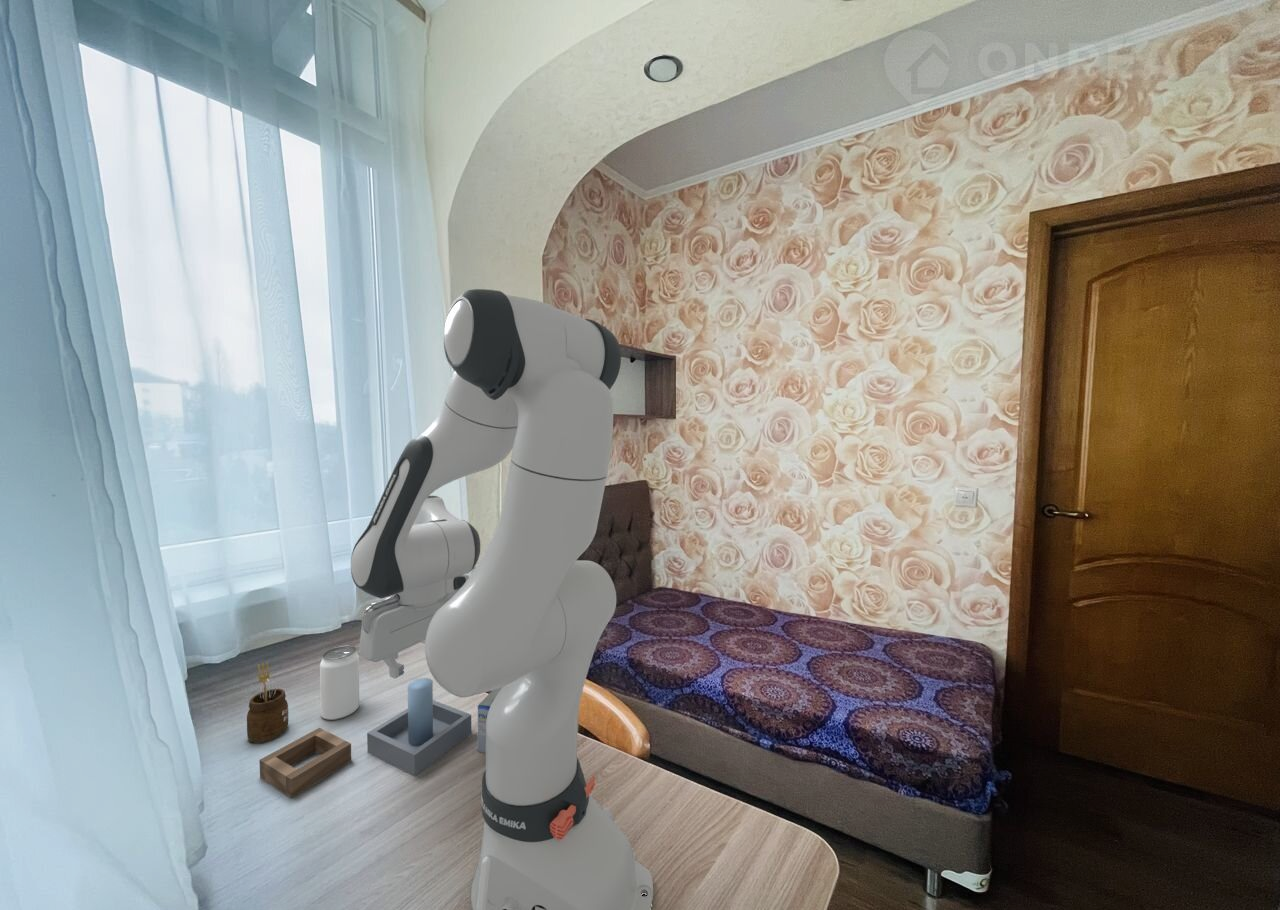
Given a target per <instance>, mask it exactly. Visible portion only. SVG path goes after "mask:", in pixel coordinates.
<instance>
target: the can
mask: <svg viewBox="0 0 1280 910" xmlns="http://www.w3.org/2000/svg"><path fill="white" fill-rule="evenodd" d="M359 655H360V654H359V653H358V651H357V647H356V646H354V645H340V646H337V647H333V648H330V649H328V650H326V651H325V652H323V654H322V655H321V656H322V659H321V661H320V663H319V664H320V665H319V693H320V695H319V697H320V716H321V718H323V719H325V720H328V721H337V720H340V719H344V718H347V717H348V716H350V715H353V713H355V712H356V711H357V710H358V708H359V707H360V656H359Z"/></svg>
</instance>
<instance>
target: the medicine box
mask: <svg viewBox="0 0 1280 910" xmlns="http://www.w3.org/2000/svg"><path fill="white" fill-rule="evenodd" d="M502 688H503V687H501V688H498V689H494V690H491V691H489V693H488V694H487V696H485V698H484V699H483V700H482V701H481V702H480V703H478V705H477V752H478V753H482V752H484V753H483V754H486V719H487V715H488V712H489V709H490V706H491V704H492V702H493V701H494V699H495V697H496V696H497V694H498V693H499V691H500V690H501V689H502Z"/></svg>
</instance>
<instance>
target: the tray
mask: <svg viewBox="0 0 1280 910" xmlns="http://www.w3.org/2000/svg"><path fill="white" fill-rule="evenodd" d="M470 734H472V714H470V713H468V712H466V711H463V710H460V709H457V708H455V707H452V706H449V705H447V704H445V703H442V702H440V701H437V700H434V699H433V737H432V738H431V739H430V740H428V741H427V742H426V743H424V744H423V745H420V746H412V745H410V744H409V742H408V708H406V709H405V710H403V711H402V712H399V713H398V714H396V715H395V716H393V717H391V718H389V719H387V720H386V721H385V722H383V723H381V724H380V725H378V726H377V727H375V728H373V729H371V730H369V731H367V733H366V736H367V737H366V738H367V739H366V741H367V742H366V743H367V745H366V746H367V750H366V751H367V754H370V755H372V756H374V757H375V758H378V759H379V760H382V761H384V762H385V763H388V764H390V765H392V766H394V767H396V768H398V769H400V770H402V771H404V772H406V773H407V774H410V775H412V776H414V777H415V776H416V775H418V774H419V773H421V772H422V771H423V770H424V769H426V768H427V767H429V766H430V765H431V764H433V763H434V762H435V761H437V760H438V759H439V758H440V757H442V756H443V755H444V754H445V753H447V752H448V751H450V750H451V749H452V748H454V747H455V746H456V745H458V744H459V743H460V742H462V741H463V740H464V739H465V738H467V737H468V736H470Z"/></svg>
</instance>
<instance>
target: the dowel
mask: <svg viewBox="0 0 1280 910" xmlns="http://www.w3.org/2000/svg"><path fill="white" fill-rule="evenodd" d="M433 685H434V683H433V680H432V679H431V678H427V677H422V678H421V677H420V678H418V679H417V678H416V679H414V680H413V681H411V682H410V683H408V685H407V709H408V742H409V744H410V745H412V746H420V745H423V744H424V743H426V742H427V741H428V740H430V739H431V738H432V737H433V700H434V699H433V697H434V695H433V694H434V693H433V692H434V691H433V687H434V686H433Z"/></svg>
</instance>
